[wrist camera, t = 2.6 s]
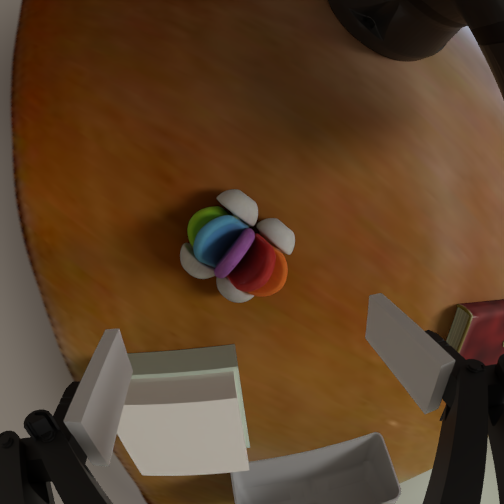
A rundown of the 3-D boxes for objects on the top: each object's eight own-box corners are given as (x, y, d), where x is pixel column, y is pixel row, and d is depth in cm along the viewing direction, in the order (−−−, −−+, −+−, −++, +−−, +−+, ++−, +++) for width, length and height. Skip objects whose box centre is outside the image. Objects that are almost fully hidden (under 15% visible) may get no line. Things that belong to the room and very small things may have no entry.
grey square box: (113, 354, 32) (95, 400, 25) (234, 344, 33) (241, 393, 26) (146, 432, 37) (139, 477, 29) (246, 425, 38) (254, 471, 30)
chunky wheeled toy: (247, 301, 32) (257, 340, 25) (168, 246, 29) (155, 275, 23) (301, 236, 31) (326, 261, 24) (222, 174, 28) (225, 181, 21)
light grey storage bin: (242, 502, 46) (250, 554, 34) (228, 463, 41) (236, 529, 29) (366, 474, 48) (387, 520, 36) (380, 429, 43) (410, 484, 31)
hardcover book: (455, 301, 37) (473, 314, 33) (525, 294, 40) (540, 304, 36) (430, 370, 40) (443, 386, 36) (503, 351, 43) (516, 362, 39)
